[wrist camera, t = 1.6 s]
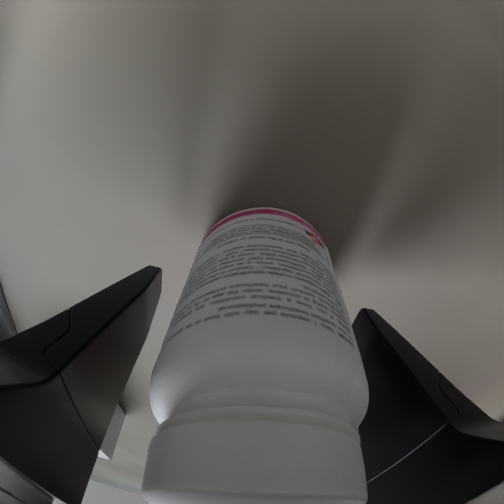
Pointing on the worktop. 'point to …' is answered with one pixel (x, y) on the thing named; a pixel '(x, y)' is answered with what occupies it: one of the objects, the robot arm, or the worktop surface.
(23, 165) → the worktop surface
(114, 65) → the worktop surface
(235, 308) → the pill bottle
